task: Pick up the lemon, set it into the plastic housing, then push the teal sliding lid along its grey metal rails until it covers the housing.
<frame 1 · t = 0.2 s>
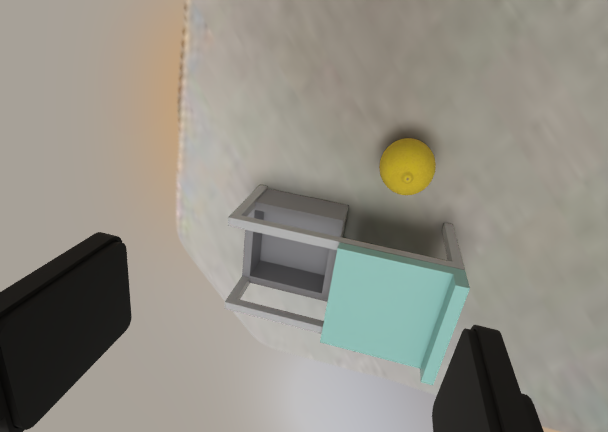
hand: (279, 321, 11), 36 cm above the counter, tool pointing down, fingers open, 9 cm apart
lid: (386, 314, 39), point 12 cm above the counter, slide at 12.0 cm
housing: (298, 235, 51), on the counter
lemon: (406, 155, 44), on the counter
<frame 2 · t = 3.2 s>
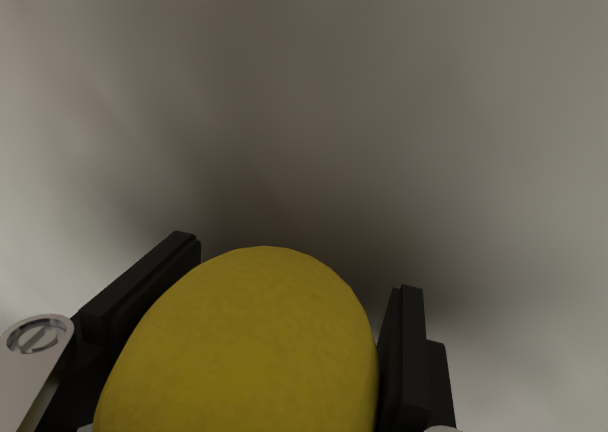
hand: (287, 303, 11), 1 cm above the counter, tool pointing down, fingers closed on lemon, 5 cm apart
lemon: (298, 278, 12), on the counter, touching gripper
when the fingers open (7 cm above the counter, at t = 8.8 s): lemon drops 5 cm, resting on housing.
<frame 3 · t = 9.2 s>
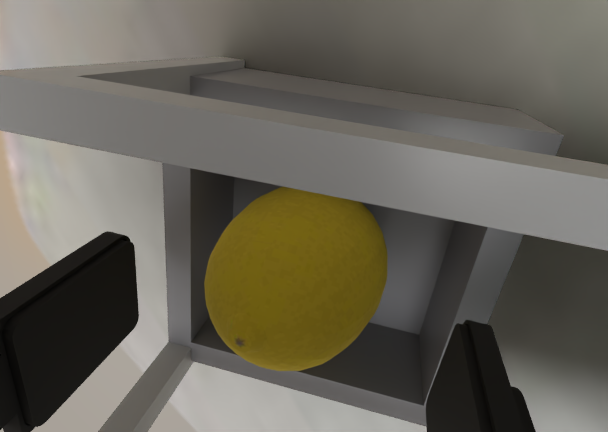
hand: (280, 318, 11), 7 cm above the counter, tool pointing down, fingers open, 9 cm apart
housing: (337, 219, 17), on the counter
lemon: (341, 222, 17), point 1 cm above the counter, touching housing
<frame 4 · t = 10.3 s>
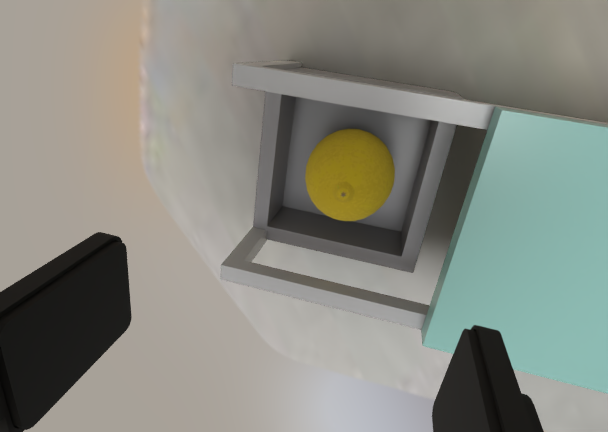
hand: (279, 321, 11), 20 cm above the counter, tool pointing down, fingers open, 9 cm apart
lid: (602, 278, 17), point 12 cm above the counter, slide at 12.0 cm
housing: (352, 158, 29), on the counter
lemon: (355, 158, 28), resting on housing
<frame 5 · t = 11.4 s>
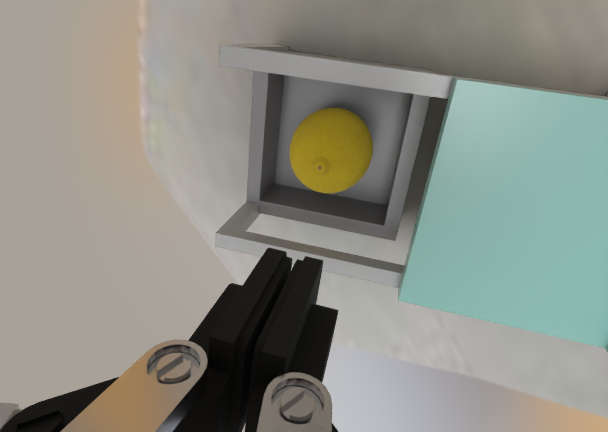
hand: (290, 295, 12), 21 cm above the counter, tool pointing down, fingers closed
lid: (553, 231, 18), point 12 cm above the counter, slide at 12.0 cm
housing: (338, 136, 31), on the counter
lemon: (341, 136, 30), resting on housing
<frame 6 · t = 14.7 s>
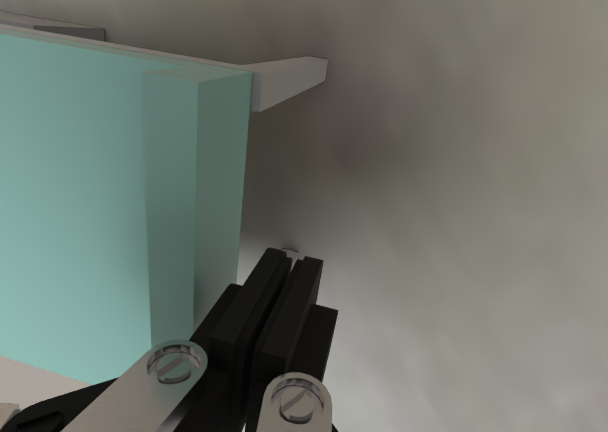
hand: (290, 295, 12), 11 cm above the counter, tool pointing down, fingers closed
lid: (37, 246, 12), point 12 cm above the counter, slide at 11.7 cm, touching gripper
housing: (29, 116, 24), on the counter
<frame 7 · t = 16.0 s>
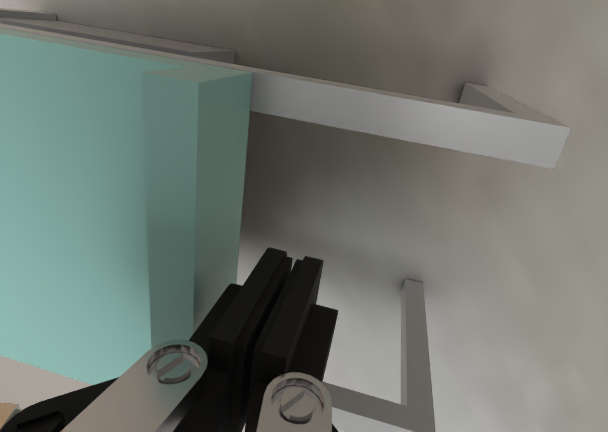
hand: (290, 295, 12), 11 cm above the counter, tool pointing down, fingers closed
lid: (37, 246, 12), point 12 cm above the counter, slide at 4.3 cm, touching gripper
housing: (138, 138, 23), on the counter
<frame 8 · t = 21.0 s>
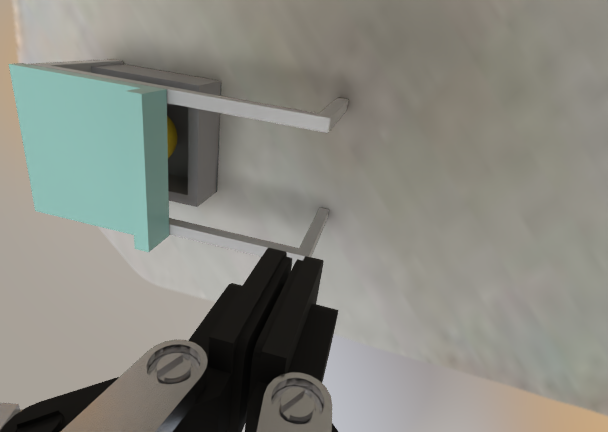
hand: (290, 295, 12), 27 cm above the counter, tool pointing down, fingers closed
lid: (86, 158, 30), point 12 cm above the counter, slide at 0.0 cm
housing: (167, 129, 40), on the counter
lemon: (167, 128, 40), resting on housing
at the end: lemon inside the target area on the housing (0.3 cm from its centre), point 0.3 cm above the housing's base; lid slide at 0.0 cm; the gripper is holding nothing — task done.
